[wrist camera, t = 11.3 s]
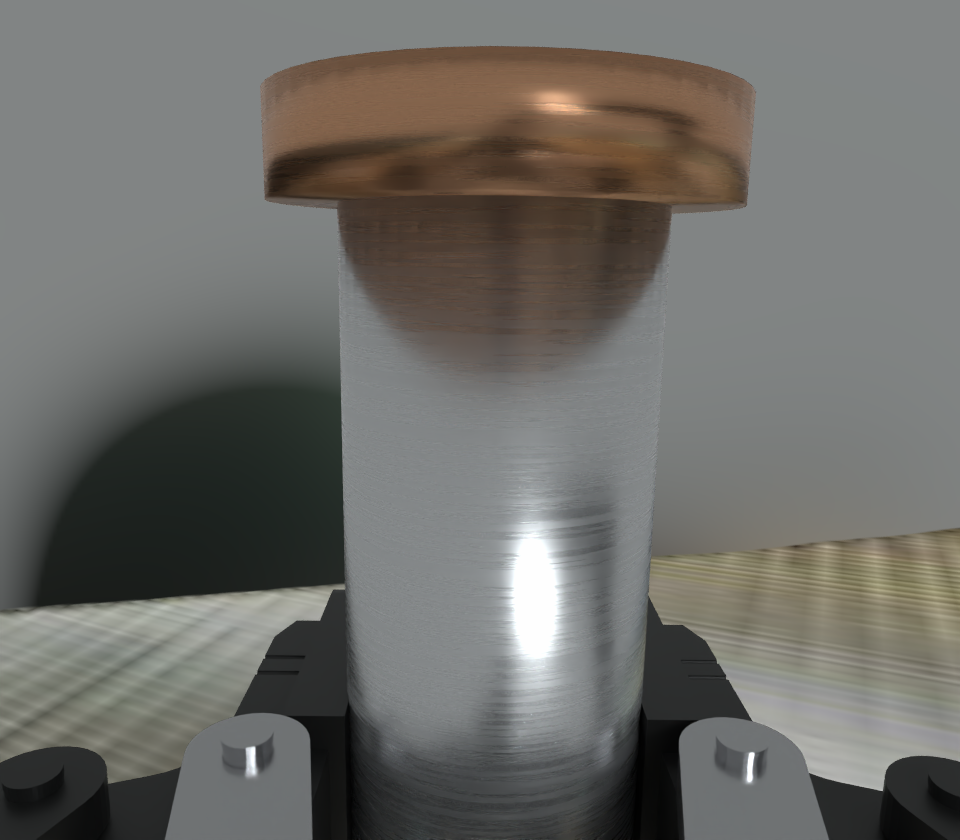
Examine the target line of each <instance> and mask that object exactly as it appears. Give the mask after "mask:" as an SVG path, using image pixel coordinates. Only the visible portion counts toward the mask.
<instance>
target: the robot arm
mask: <svg viewBox="0 0 960 840" xmlns="http://www.w3.org/2000/svg"><path fill="white" fill-rule="evenodd" d="M0 840H352V831H351V782H350V733H349V698H348V693H347V646H346V598H345V590H333V591H332V593H331V596H330V598H329V600H328V603H327V605H326V608H325V610H324V613H323V615H322V617H321V620H320V621H296V622H294V623H293V624H292V625H290V626H289V627H287V628H286V629H285V630H283V631H282V632H280V633H279V634H278V635H276V636H275V637H274V639H273V641H272V643H271V645H270V647H269V649H268V651H267V653H266V655H265V659H263V661H262V663H261V665H260V667H259V669H258V672H257V675H255V677H254V679H253V680H252V682H251V684H250V686H249V688H248V690H247V692H246V694H245V696H244V698H243V700H242V702H241V704H240V706H239V708H238V710H237V712H236V714H235V716H234V717H231V718H228V719H225V720H222V721H220V722H217V723H215V724H213V725H211V726H209V727H208V728H206V729H204V730H203V731H201V732H200V733H199V734H197V735H196V736H195V737H194V738H193V739H192V740H191V742H190V743H189V745H188V746H187V748H186V750H185V753H184V757H183V761H182V766H181V767H180V768H177V769H174V770H171V771H168V772H165V773H161V774H156V775H152V776H147V777H142V778H137V779H132V780H126V781H121V782H116V783H111V784H108V778H107V767H106V764H105V761H104V760H103V759H102V757H101V756H99V755H98V754H97V753H95V752H93V751H90V750H88V749H84V748H79V747H69V746H68V747H51V748H44V749H39V750H34V751H31V752H27V753H24V754H20V755H18V756H15V757H12V758H10V759H8V760H5V761H3V762H1V763H0ZM633 840H960V762H958V761H954V760H950V759H945V758H939V757H932V756H913V757H907V758H902V759H900V760H897V761H895V762H894V763H892V764H891V765H890V766H889V767H888V769H887V770H886V774H885V780H884V788H883V791H878V790H874V789H869V788H864V787H859V786H855V785H850V784H845V783H840V782H836V781H832V780H828V779H825V778H822V777H819V776H816V775H813V774H810V773H809V772H808V769H807V766H806V762H805V759H804V757H803V755H802V753H801V751H800V750H799V749H798V747H797V746H796V745H795V744H794V743H793V742H792V741H791V740H789V739H788V738H787V737H785V736H784V735H782V734H781V733H779V732H777V731H775V730H773V729H771V728H769V727H767V726H764V725H762V724H759V723H756V722H753V721H752V720H751V718H750V716H749V714H748V713H747V711H746V709H745V708H744V706H743V704H742V703H741V701H740V699H739V697H738V696H737V694H736V692H735V691H734V689H733V687H732V685H731V684H730V682H729V680H726V675H725V673H724V672H723V670H722V668H721V667H720V665H719V664H717V660H716V658H715V656H714V655H713V653H712V651H711V649H710V648H709V646H708V644H707V643H706V641H705V640H703V639H702V638H700V637H699V636H697V635H696V634H695V633H693V632H692V631H690V630H689V629H688V628H686V627H685V626H683V625H663V624H662V622H661V620H660V618H659V616H658V614H657V612H656V610H655V608H654V606H653V604H652V602H651V600H650V598H649V596H648V609H647V625H646V642H645V658H644V674H643V691H642V702H641V716H640V733H639V749H638V766H637V782H636V798H635V815H634V831H633Z"/></svg>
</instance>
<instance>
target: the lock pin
mask: <svg viewBox="0 0 960 840" xmlns="http://www.w3.org/2000/svg"><path fill="white" fill-rule="evenodd" d="M260 87H261V113H262V139H263V165H264V191H265V200H266V201H269V202H273V203H279V204H286V205H296V206H304V207H316V208H330V209H337V215H338V261H339V262H338V263H339V308H340V309H339V311H340V359H341V406H342V451H343V453H342V455H343V500H344V545H345V546H344V549H345V550H344V551H345V598H346V646H347V693H348V698H349V733H350V782H351V831H352V840H633V831H634V815H635V798H636V782H637V766H638V749H639V733H640V716H641V702H642V691H643V674H644V658H645V642H646V625H647V609H648V593H649V577H650V560H651V544H652V528H653V511H654V495H655V493H654V492H655V479H656V462H657V446H658V429H659V413H660V396H661V380H662V364H663V347H664V331H665V315H666V299H667V283H668V265H669V250H670V234H671V217H672V214H675V213H696V212H711V211H712V212H713V211H723V210H733V209H740V208H743V207H746V205H747V196H748V184H749V171H750V158H751V145H752V133H753V121H754V108H755V96H756V92H755V90H754V88H753V86H752V85H751V84H749V83H748V82H747V81H745V80H744V79H742V78H739V77H737V76H735V75H733V74H731V73H728V72H725V71H721V70H718V69H714V68H712V67H708V66H703V65H699V64H694V63H690V62H685V61H680V60H673V59H667V58H661V57H655V56H648V55H639V54H631V53H622V52H612V51H599V50H586V49H572V48H549V47H509V46H507V47H506V46H477V47H439V48H420V49H404V50H393V51H382V52H370V53H363V54H356V55H348V56H340V57H334V58H329V59H324V60H318V61H314V62H309V63H305V64H301V65H298V66H294V67H290V68H288V69H285V70H282V71H280V72H277V73H275V74H273V75H272V76H270V77H269V78H267V79H265V80H264V82H263V83H262V84H261V86H260Z"/></svg>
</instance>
